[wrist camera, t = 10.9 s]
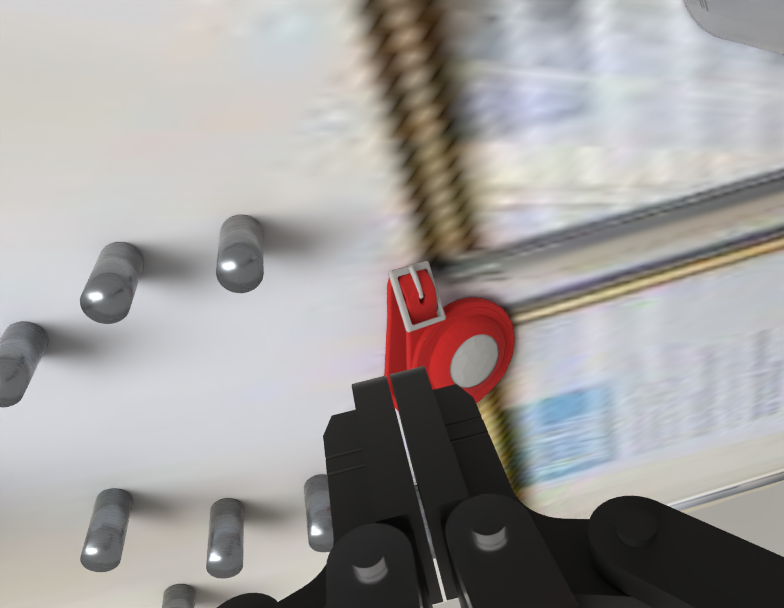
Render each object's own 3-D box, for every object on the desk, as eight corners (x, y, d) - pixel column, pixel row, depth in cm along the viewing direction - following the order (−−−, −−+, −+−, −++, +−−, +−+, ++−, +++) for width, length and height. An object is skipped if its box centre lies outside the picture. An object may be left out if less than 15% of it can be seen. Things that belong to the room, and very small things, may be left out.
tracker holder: (548, 324, 45) (475, 449, 46) (507, 299, 49) (441, 417, 50) (420, 260, 38) (338, 411, 39) (383, 237, 41) (309, 376, 43)
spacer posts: (374, 184, 39) (389, 216, 35) (441, 536, 55) (457, 588, 51) (-33, 275, 38) (-70, 321, 33) (157, 611, 53) (148, 671, 49)
